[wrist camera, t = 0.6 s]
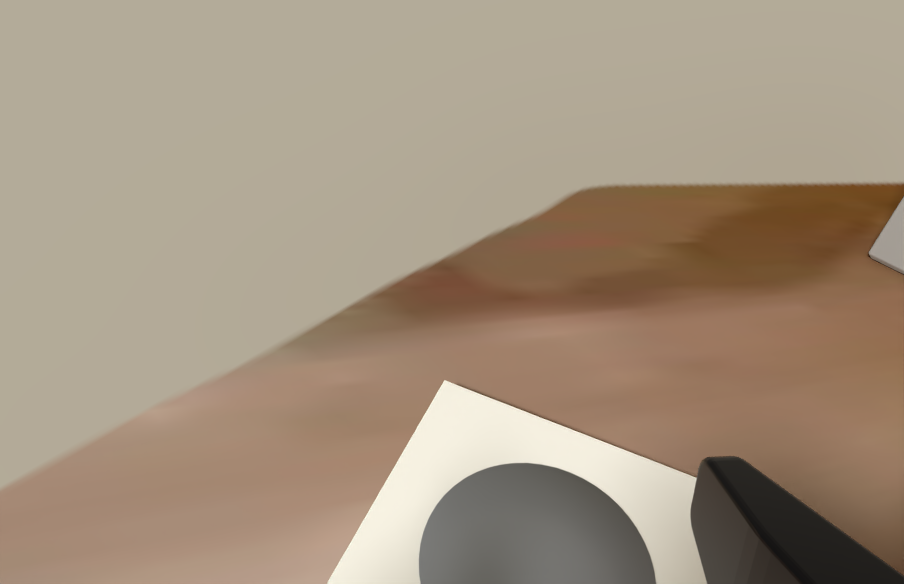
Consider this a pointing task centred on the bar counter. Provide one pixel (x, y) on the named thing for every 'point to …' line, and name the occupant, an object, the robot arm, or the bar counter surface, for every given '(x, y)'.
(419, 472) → the plate
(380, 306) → the bar counter surface
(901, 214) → the vintage mobile phone
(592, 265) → the bar counter surface
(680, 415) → the bar counter surface
